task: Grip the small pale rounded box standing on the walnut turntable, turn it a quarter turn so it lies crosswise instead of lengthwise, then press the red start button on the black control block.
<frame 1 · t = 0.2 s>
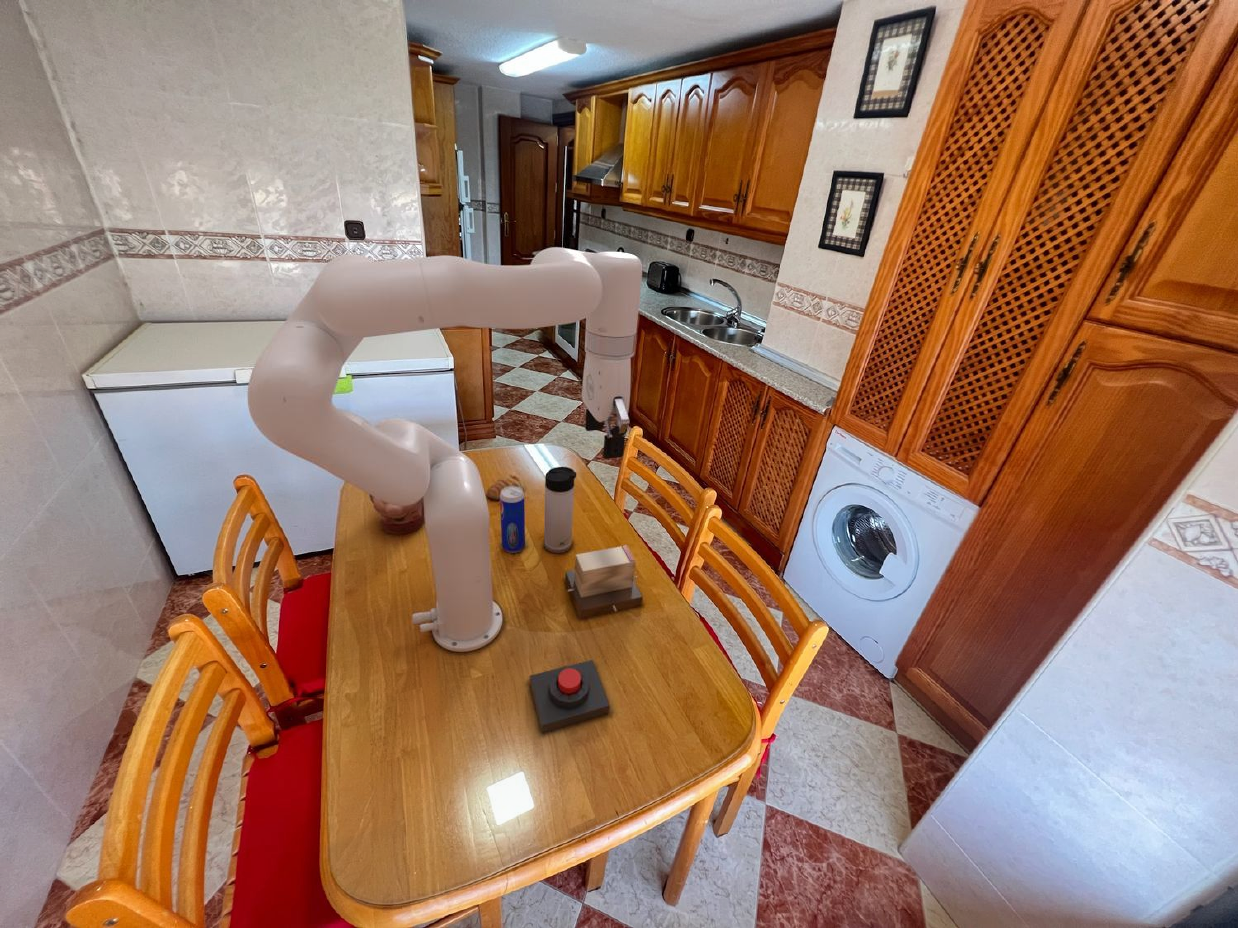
hand: (603, 442, 83), 36 cm above the table, tool pointing down, fingers open, 9 cm apart
beverage can: (513, 547, 113), on the table
decorative planter: (403, 518, 118), on the table
start button: (569, 681, 79), point 4 cm above the table, slide at 0.1 cm
button block: (568, 698, 82), on the table
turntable: (602, 592, 103), on the table
travel mug: (558, 545, 115), on the table
pastry: (506, 492, 131), on the table
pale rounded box: (604, 570, 100), point 6 cm above the table, hinge at 0.0°
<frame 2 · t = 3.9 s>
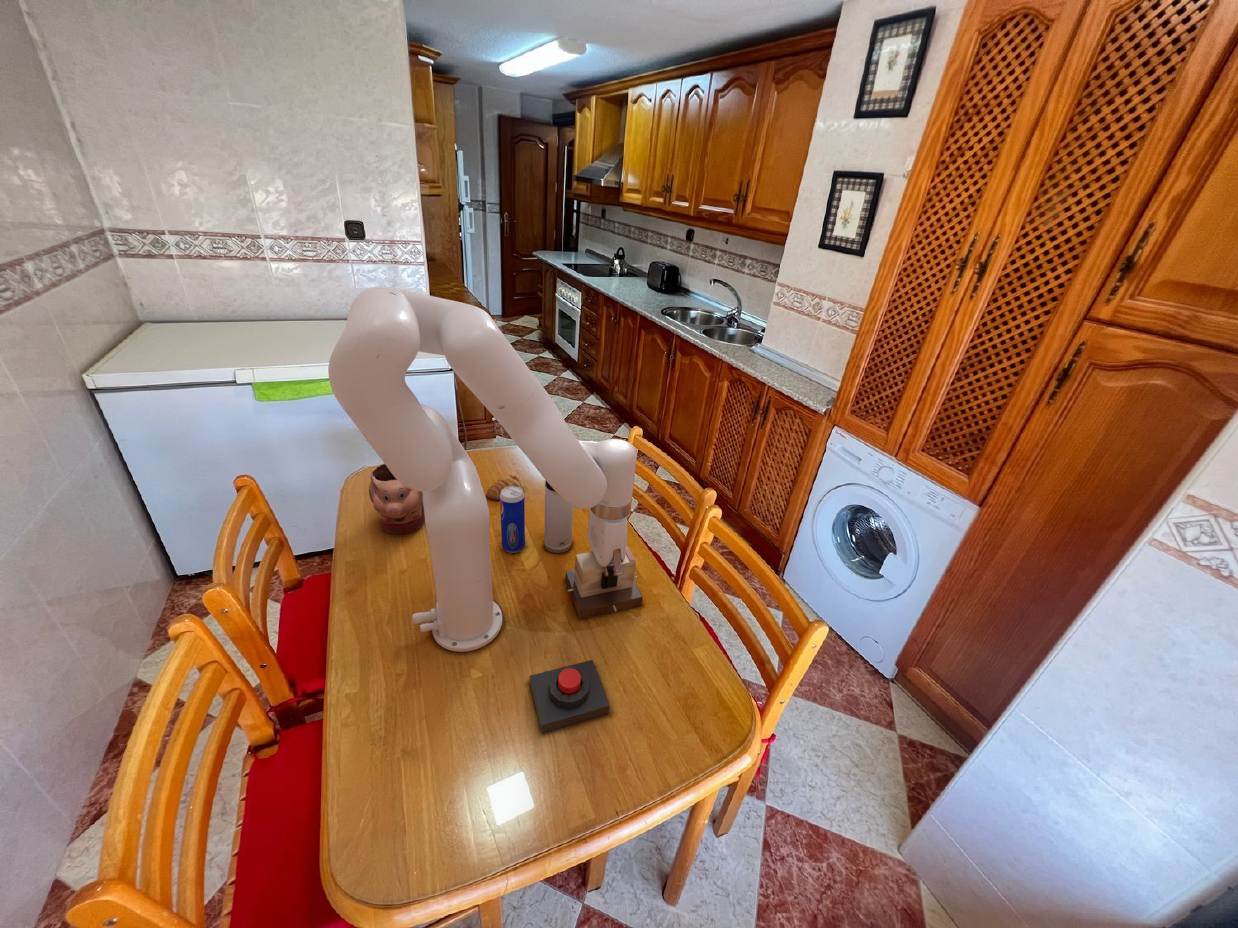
hand: (604, 576, 100), 5 cm above the table, tool pointing down, fingers closed on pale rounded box, 5 cm apart
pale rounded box: (604, 570, 100), point 6 cm above the table, hinge at 0.0°, touching gripper
everything else where it was.
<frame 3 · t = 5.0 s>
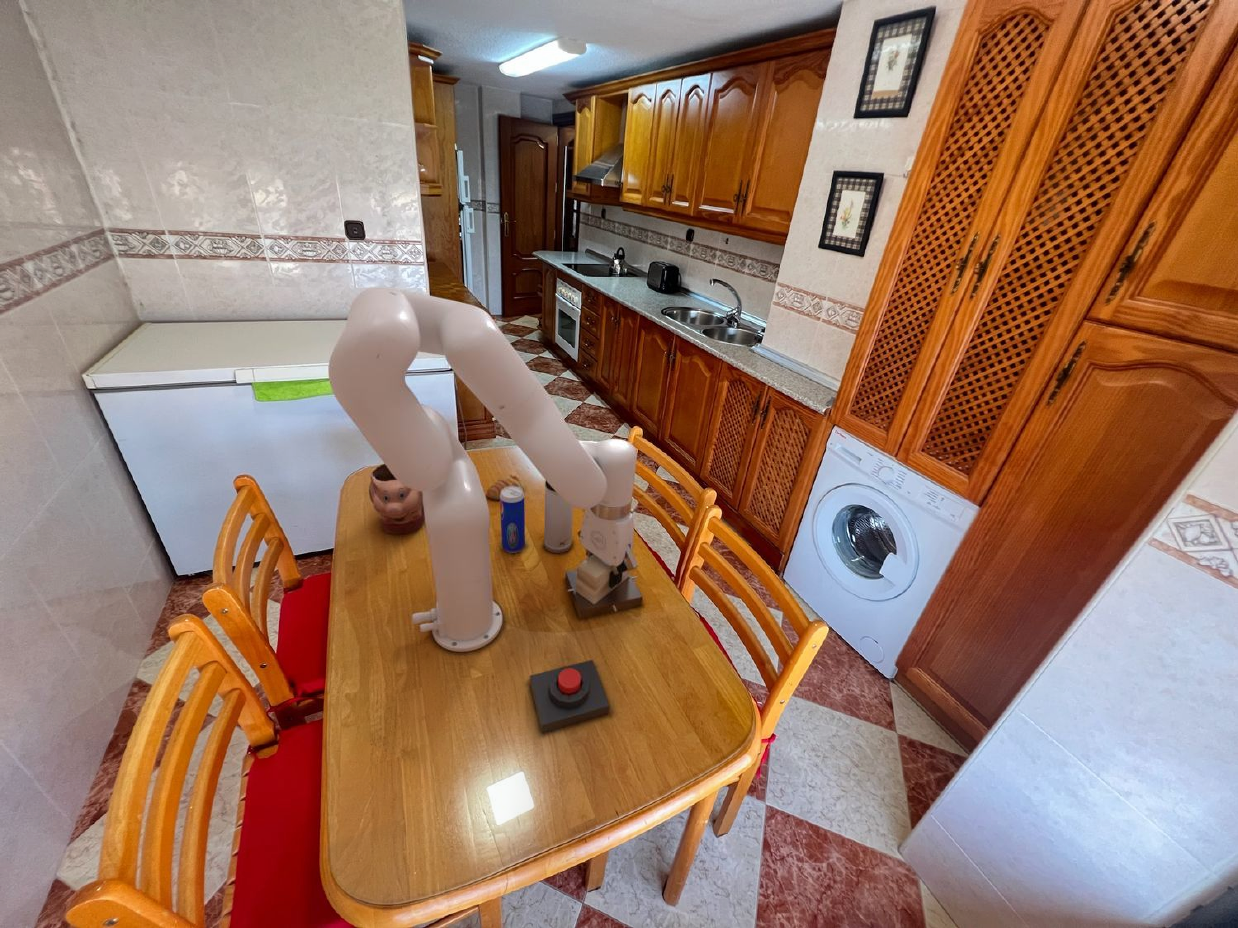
hand: (604, 576, 100), 5 cm above the table, tool pointing down, fingers closed on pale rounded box, 5 cm apart
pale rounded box: (604, 570, 100), point 6 cm above the table, hinge at 29.7°, touching gripper
everything else where it was.
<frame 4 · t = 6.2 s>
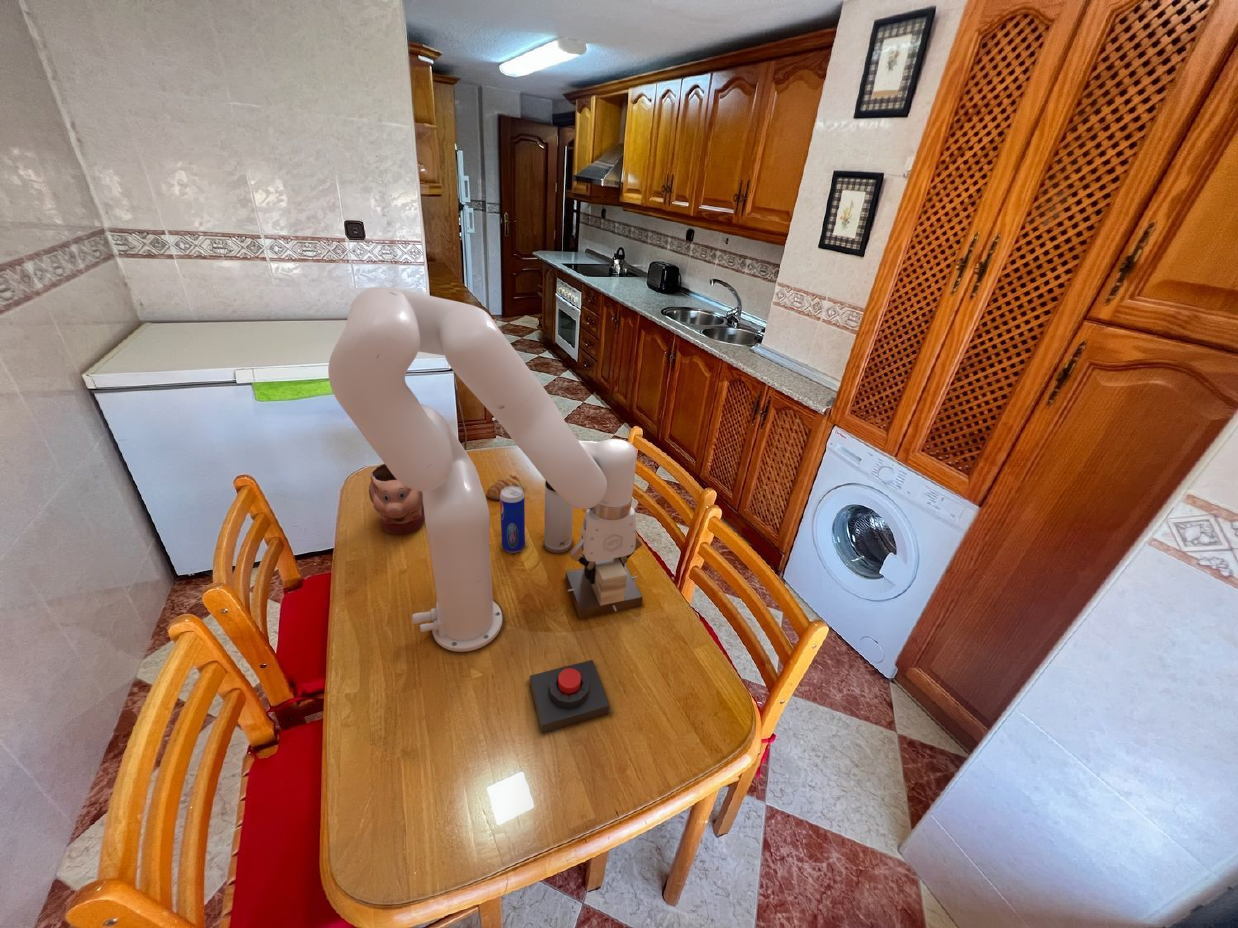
hand: (604, 576, 100), 5 cm above the table, tool pointing down, fingers closed on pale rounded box, 5 cm apart
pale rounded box: (604, 570, 100), point 6 cm above the table, hinge at 89.7°, touching gripper
everything else where it was.
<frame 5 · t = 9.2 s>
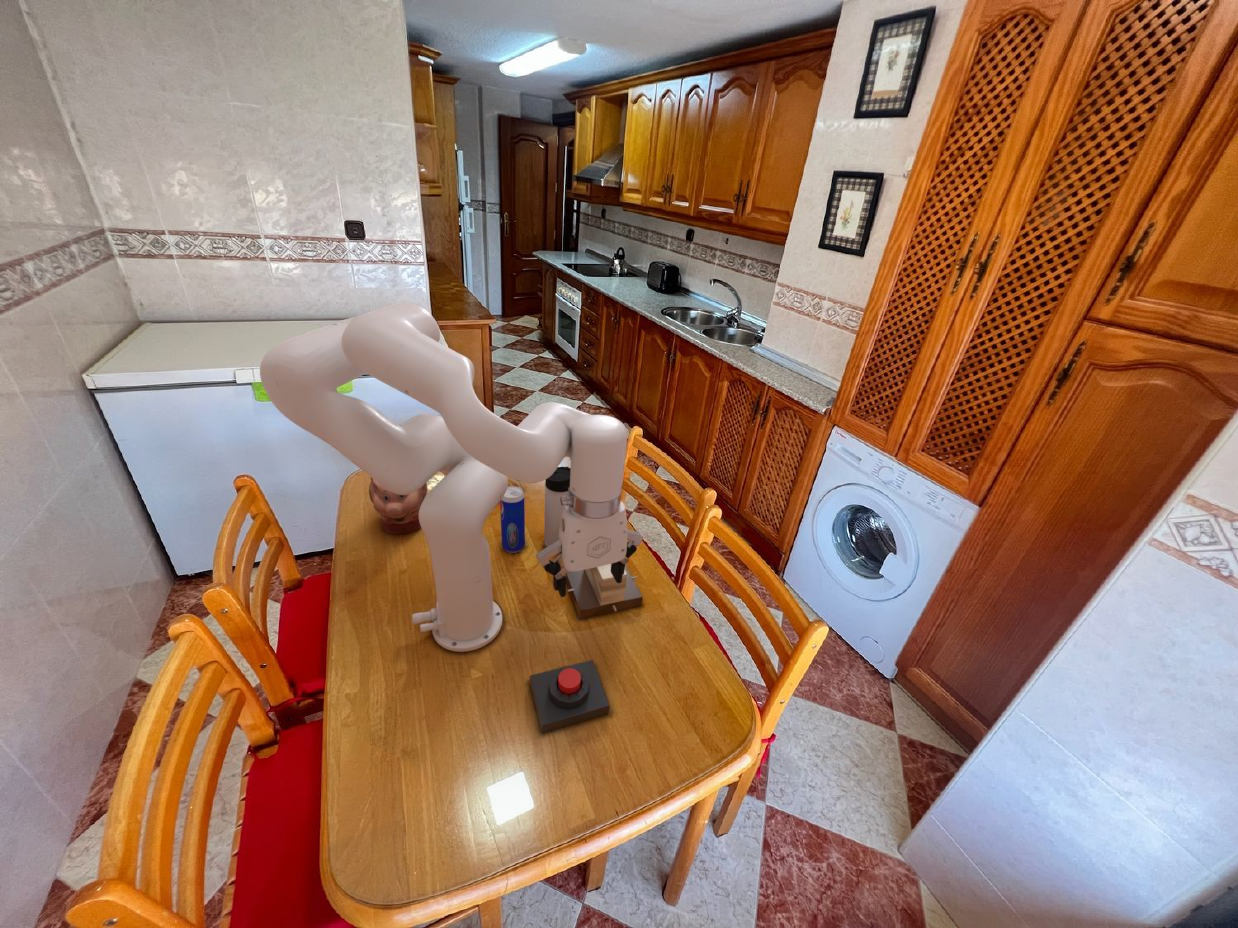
hand: (588, 584, 81), 17 cm above the table, tool pointing down, fingers open, 9 cm apart
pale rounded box: (604, 570, 100), point 6 cm above the table, hinge at 90.0°
everything else where it was.
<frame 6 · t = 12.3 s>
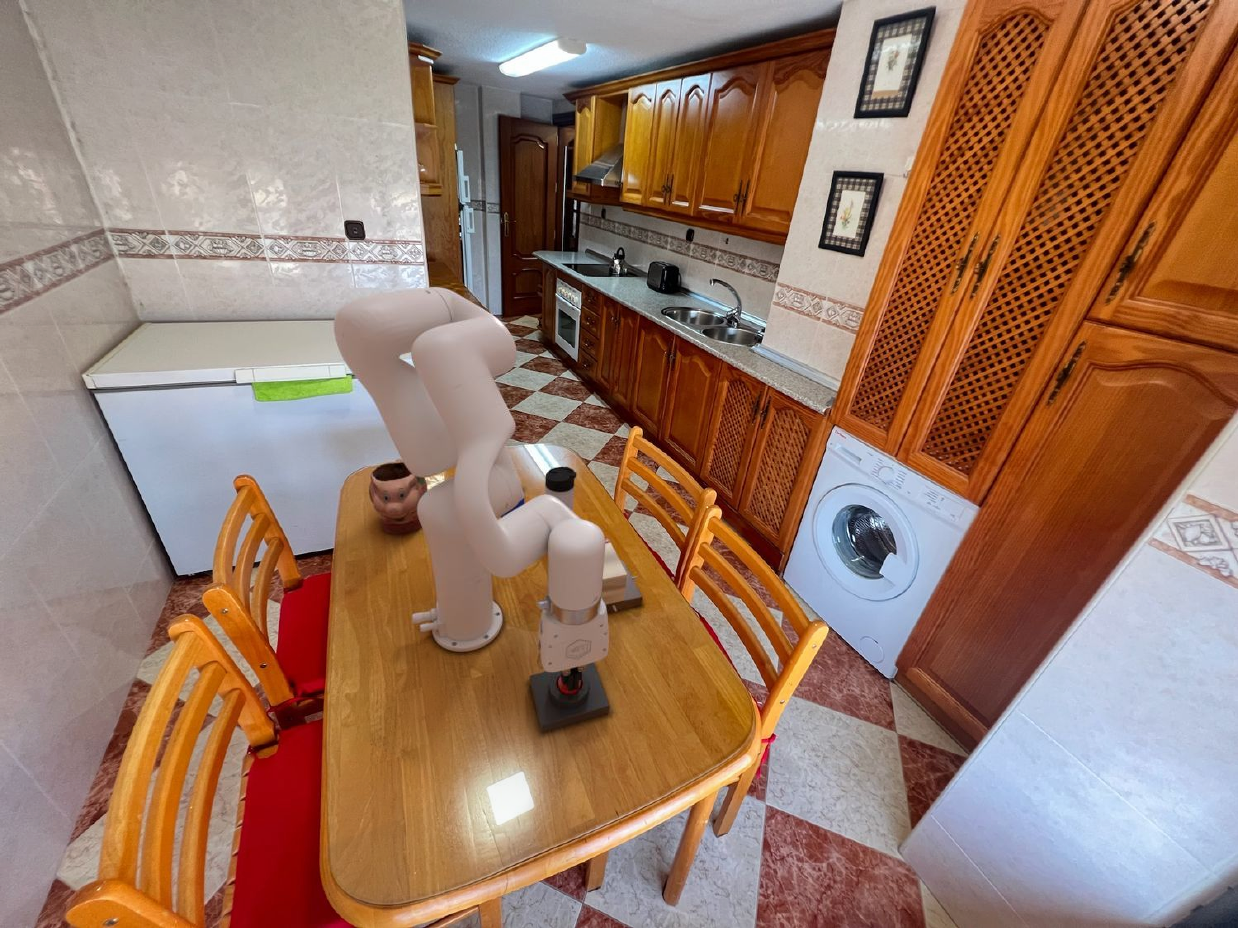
hand: (571, 682, 79), 4 cm above the table, tool pointing down, fingers closed
start button: (569, 685, 80), point 3 cm above the table, slide at -0.9 cm, touching gripper
everything else where it was.
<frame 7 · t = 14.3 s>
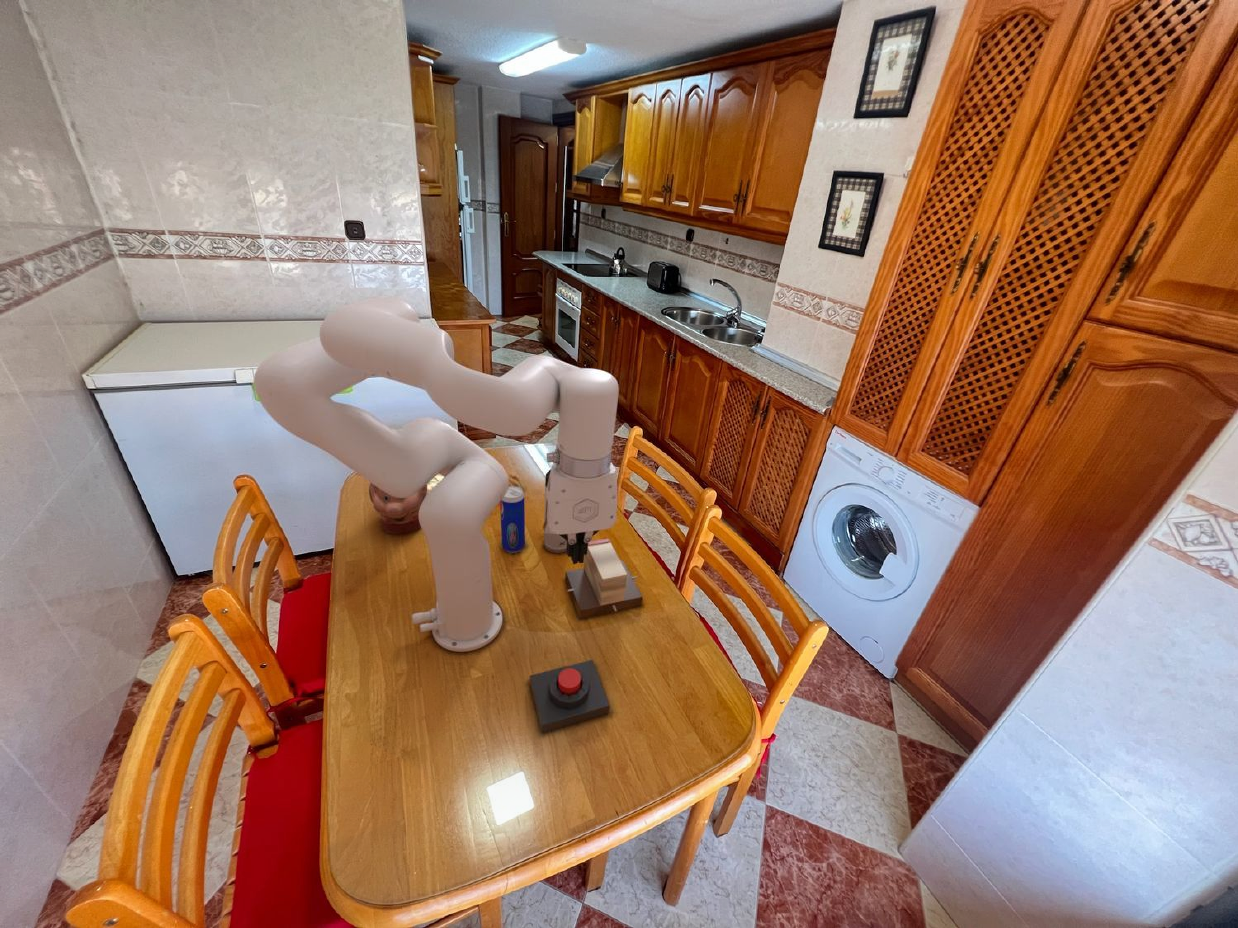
hand: (576, 557, 78), 22 cm above the table, tool pointing down, fingers closed
start button: (569, 681, 79), point 4 cm above the table, slide at 0.1 cm
everything else where it was.
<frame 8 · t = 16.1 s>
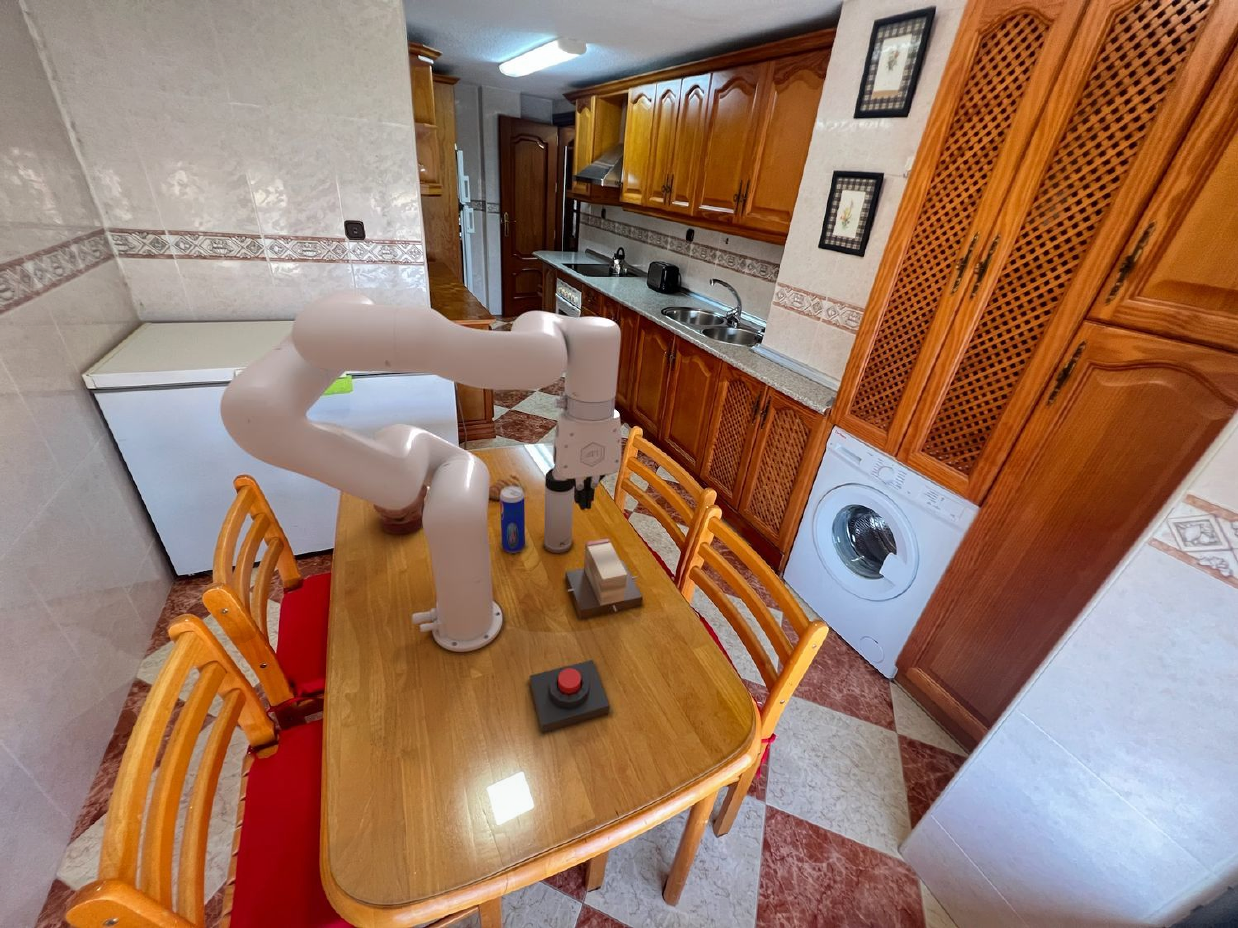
hand: (583, 504, 83), 27 cm above the table, tool pointing down, fingers closed
nothing on the table moved.
at the end: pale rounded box at +90° (first picture: +0°); start button pushed in 1.1 cm at the most during the clip, back to where it started at the end; start button slide at 0.1 cm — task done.
